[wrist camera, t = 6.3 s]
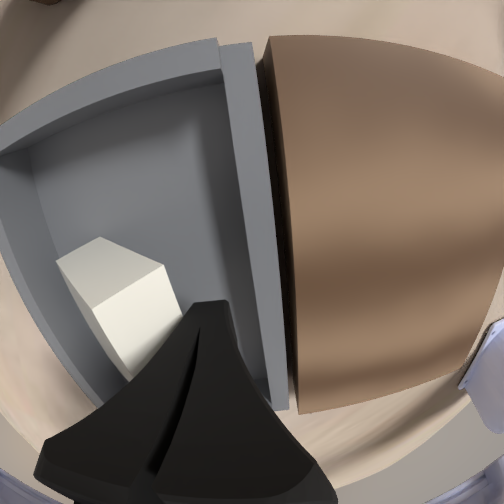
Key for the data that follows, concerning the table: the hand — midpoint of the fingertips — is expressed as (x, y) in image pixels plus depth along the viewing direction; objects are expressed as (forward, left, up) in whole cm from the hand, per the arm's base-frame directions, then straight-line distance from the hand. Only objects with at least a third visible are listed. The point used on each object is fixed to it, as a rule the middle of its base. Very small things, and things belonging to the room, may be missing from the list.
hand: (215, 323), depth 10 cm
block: (0, +3, -1) cm, 3 cm away
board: (0, -9, -4) cm, 10 cm away
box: (0, +4, -4) cm, 5 cm away
